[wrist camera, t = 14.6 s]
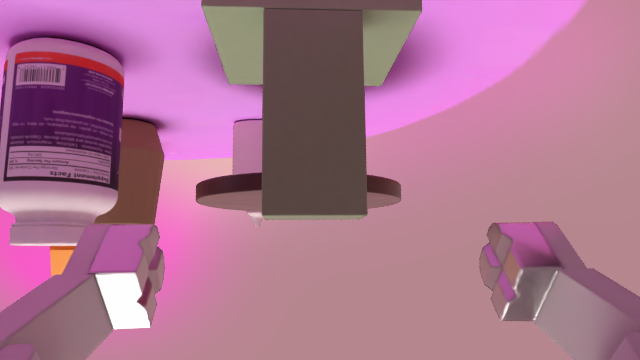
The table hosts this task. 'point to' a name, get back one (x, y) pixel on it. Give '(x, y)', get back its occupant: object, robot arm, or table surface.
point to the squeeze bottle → (137, 175)
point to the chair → (311, 92)
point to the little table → (248, 192)
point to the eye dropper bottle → (248, 153)
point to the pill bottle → (59, 139)
